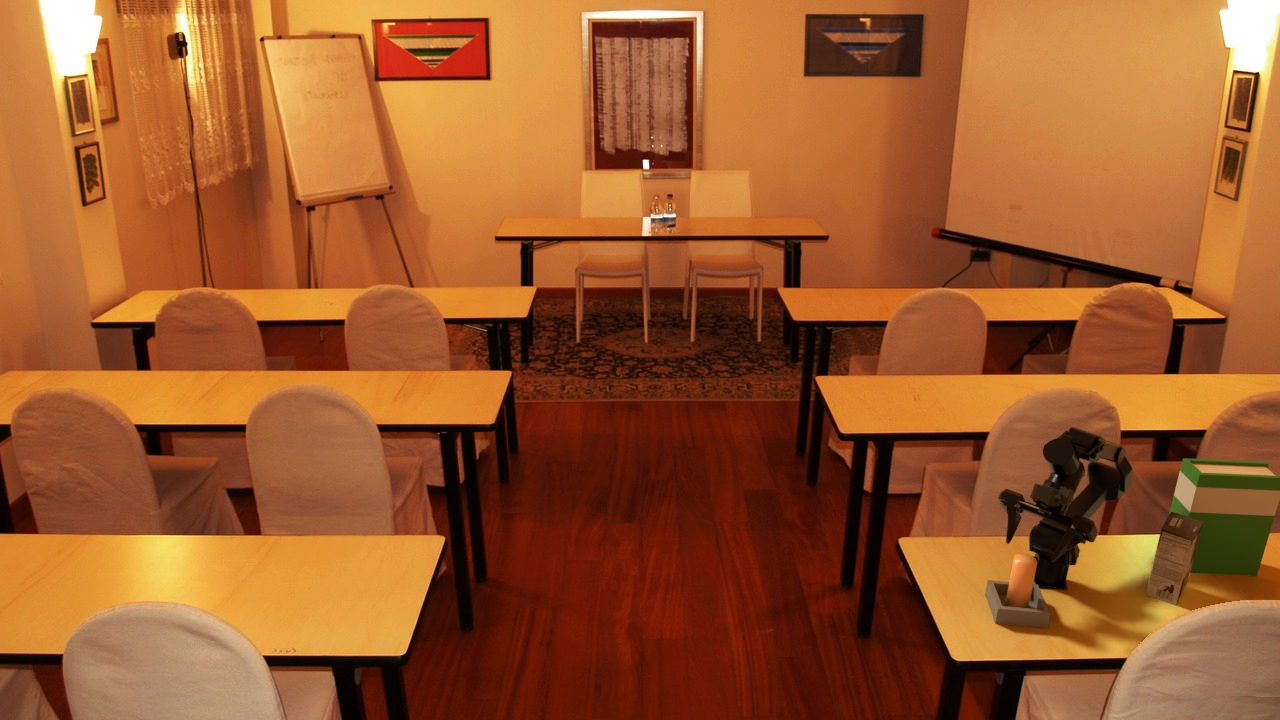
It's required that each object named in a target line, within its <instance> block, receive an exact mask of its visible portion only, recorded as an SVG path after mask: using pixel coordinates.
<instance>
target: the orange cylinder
mask: <svg viewBox="0 0 1280 720" xmlns="http://www.w3.org/2000/svg"><path fill="white" fill-rule="evenodd" d="M1036 567H1037V560H1036V559H1035V558H1034V557H1033V555H1030V554H1027V553H1017V554H1015V555H1013V560H1012V566H1011V570H1010V571H1011V572H1010V577H1009V581H1008V582H1009V586H1008V592H1007V597H1006V602H1005V606H1007V607H1018V608H1029V603H1030V598H1031V592H1032V587H1033V584H1034V577H1035V572H1036Z"/></svg>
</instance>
